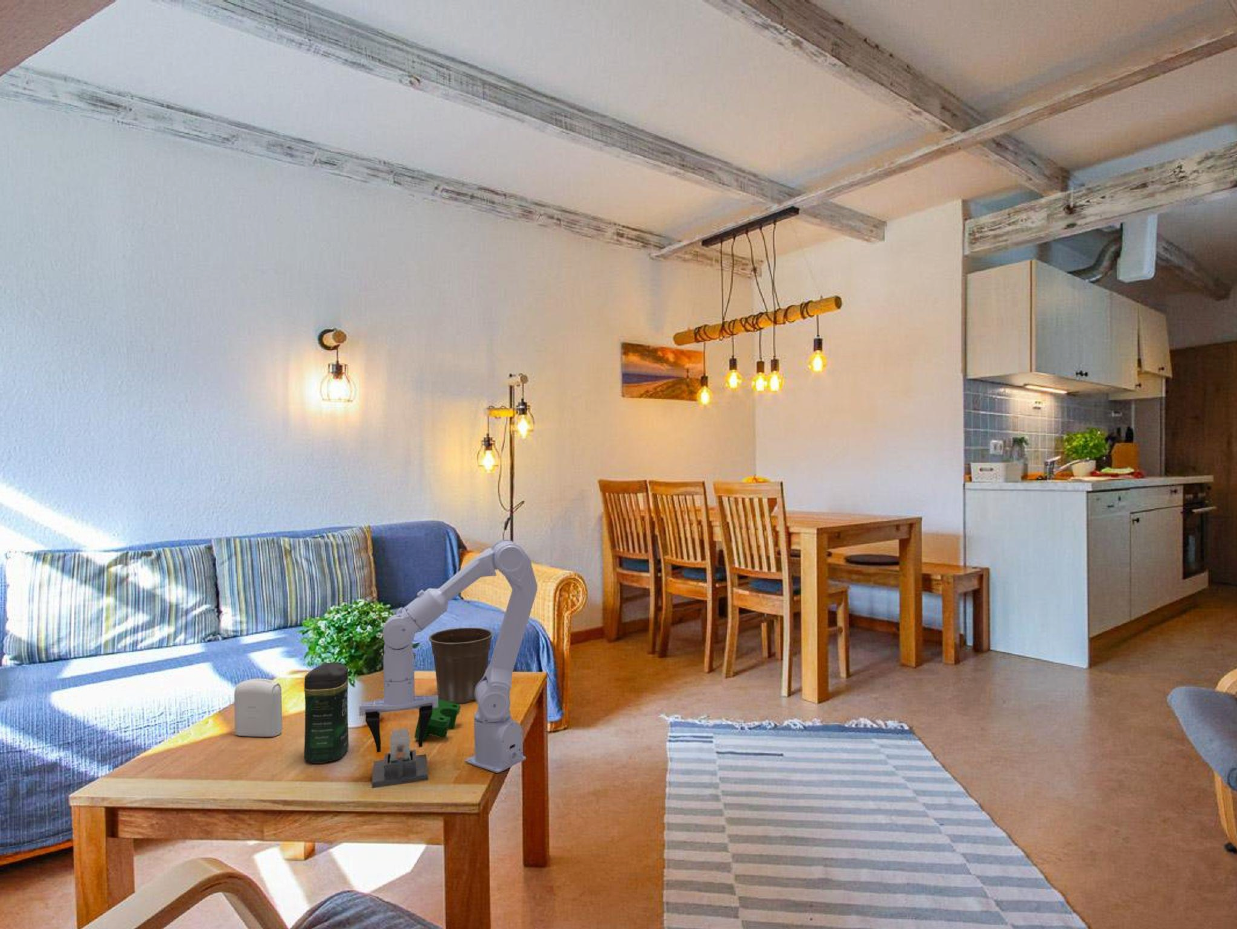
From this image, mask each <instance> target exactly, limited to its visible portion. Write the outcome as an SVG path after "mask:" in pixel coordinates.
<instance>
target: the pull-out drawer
mask: <svg viewBox="0 0 1237 929" xmlns="http://www.w3.org/2000/svg"><path fill="white" fill-rule="evenodd" d="M410 741H411V740H410V731H409V728H408V727H407V728H401V729H394V730H393V729H392V730H391V733H390V743H389V744H390V753H391V757H390V763H396V762H397V752H403V762H404V761H411V759H410V750H411V749H410Z"/></svg>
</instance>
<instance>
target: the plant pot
mask: <svg viewBox="0 0 1237 929" xmlns="http://www.w3.org/2000/svg"><path fill="white" fill-rule="evenodd" d="M493 635H494V632H493V631H491V630H489V629H487V628H482V627H458V628H456V627H455V628H448V629H444V630H439V631H436V632H434V633H432V634H431V635H429V636H428V640H429V642H430V645H431V653H432V655H433V661H434V670H435V671H434V672H435V677H436V678H435V679H436V689H437V695H438V699H441V700H444V701H448V702H451V703H455V704H458V705H460V704H467V703H469V702H470V701H473V702H477V701H476V699H475V694H474V692H475V688H476V686H477V684H478V683H479V682H480V681H481V680H482V678H483V676H484V674H485V671H486V669H487V667H488V666H489V652H490V650H491V644H492V637H493Z"/></svg>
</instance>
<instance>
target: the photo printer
mask: <svg viewBox="0 0 1237 929" xmlns="http://www.w3.org/2000/svg"><path fill="white" fill-rule="evenodd" d="M233 695H234V696H233V697H234V698H233V699H234V702H233V703H234V731H235V735H236V736H237V735H238V736H239V737H241V736H242V737H261V738H262V737H267V738H268V737H270V738H271V737H273V738H274V737H278V736H279V735H281V733H282V731H283V705H282V704H283V702H282V701H283V700H282V698H283V697H282V685H281V684H280V683H279V682H277V681H274V680H272V679H267V678H249V679H246V680H243V681H240V682H238V683H237V684H236V686H235V689H234V694H233Z"/></svg>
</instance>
